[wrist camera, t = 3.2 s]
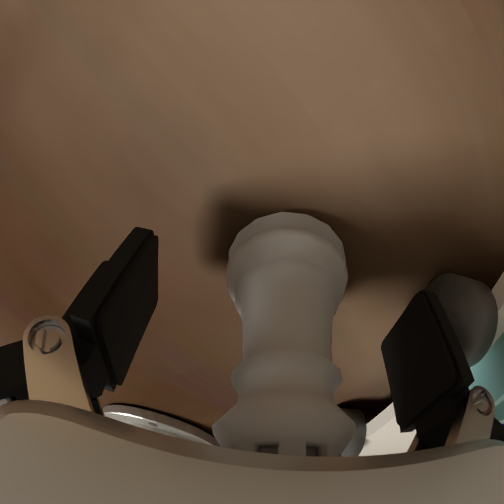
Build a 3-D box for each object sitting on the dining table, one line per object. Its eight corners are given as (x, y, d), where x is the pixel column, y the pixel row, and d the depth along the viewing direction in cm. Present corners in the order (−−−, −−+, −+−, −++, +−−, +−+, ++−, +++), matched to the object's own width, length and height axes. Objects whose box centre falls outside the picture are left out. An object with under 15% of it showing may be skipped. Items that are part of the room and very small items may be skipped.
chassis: (443, 421, 21) (452, 467, 16) (313, 425, 20) (313, 487, 15) (569, 286, 10) (603, 338, 6) (456, 234, 10) (523, 331, 5)
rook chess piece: (358, 276, 12) (400, 471, 5) (265, 312, 13) (247, 491, 6) (314, 184, 10) (363, 424, 3) (207, 237, 11) (131, 444, 5)
